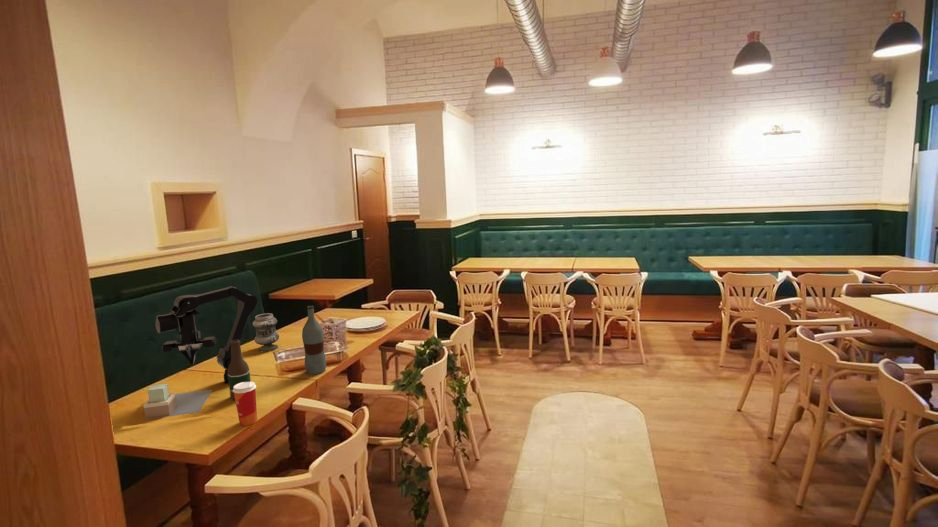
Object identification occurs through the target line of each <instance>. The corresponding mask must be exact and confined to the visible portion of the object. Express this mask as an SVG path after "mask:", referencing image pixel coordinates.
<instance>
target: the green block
mask: <svg viewBox="0 0 938 527" xmlns="http://www.w3.org/2000/svg"><path fill="white" fill-rule="evenodd" d="M168 385H169V384H168V383H160V384H158V383H157V384H152V385H151V386H150V387H149V388H148V389H147V395H148V399H149V402H150V403H156V402H164V401H167V400H168V398H169V394H170V393H169V392H170V391H169V386H168Z"/></svg>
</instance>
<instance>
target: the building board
mask: <svg viewBox="0 0 938 527" xmlns="http://www.w3.org/2000/svg"><path fill="white" fill-rule="evenodd" d="M213 390H214V389H205V390H198V391H197V390H196V391H188V392H181V393H175V392H173V393H169V398H168V400H167V401H164V402H156V403H150V402H149V398H148V399H147V400H146V401H145V403H144V404H143V411H144V420H145V421H146V420H152V419H159V418H160V419H161V418H167V417H175V416H181V415H189V414H195V413H196V414H197V413H200V411H201V410H202V408H203V406H204V405H205V403H206V401H207V400H208V398H209V397H210V395H211V393H212V392H213Z"/></svg>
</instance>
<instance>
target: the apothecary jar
mask: <svg viewBox="0 0 938 527" xmlns="http://www.w3.org/2000/svg"><path fill="white" fill-rule="evenodd" d="M277 324H278V320H277V318H276V317H275V316H274V314H273V313H269V312H267V313H261V314H257V315H256V316H255V317H254V321H252V326H253V327H254V328H255V333H256V336H255V337H254V338H253V339H254V342H255V343H256V344H257V345H260V347H258V348H257V351H258V352H259V353H260V352H263V353H264V352H270V351H271V352H272V351H275V350H277V349H278V348H279V346H278V345H277V344H275V343H276V342H277V341H279V339H280V335H279V333H278V332H277V329H276V325H277Z"/></svg>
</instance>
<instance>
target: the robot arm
mask: <svg viewBox="0 0 938 527" xmlns="http://www.w3.org/2000/svg"><path fill="white" fill-rule="evenodd" d="M228 298H232V299H234V300H235V301H237V305H236V306H237V314H236V318H235V321H234V323H233V324H232V325H233V326H232V328H231V330H230V335H229V337H228V339H227V343H226V345H225V346H224V347H223V348H222V347H220V348H219V350H218V353H217V355H216V363H217V364H218V365H219V366H220V367H222V368H223V369H225V370H224V373H223V381H224V384H229V380H228V367H229V364H230V363H231V345H230V342H231V341H232V340H240V341H241V339H242V337H243V334H244V331H245V329H246V325H247V323H248V319H249V317H250V316H251V314H252V313H253V312H254V311H255V310H256V307H257V306H258V303H259V300H258V298H257V297H256V296H255V295H253V294H249V293H245V292H244V291H242V290H239V289H238V288H237V287H235V286H231V285H230V286H227V287H223V288H220V289H219V288H218V289H216V290H215V289H214V290H211V291H208V292H204V293H200V294H186V295H178V296H177V297H176V298H175V300H174V302H173V306H172V308H171V309H170V311H169V313H166V314H159V315H156V319H155V324H154V325H155V329H156V332H157V333H158V334H163V333H166V332H167V333H168V332H171V331H176V329H178V330H179V332H178V334H179V337H180V342H178V341H177V340H167V341H165V342H164V343H163V344H162V345H161V353H167V352H171V351H173V349H176V348H178V353H181V354H182V355H183V356H184V357H185V359H186V360H187V362H188V363H189V364H190V365H191V366H192V365H193V366H194V364H195V360H196V357H197V356H196V355H197V352H198V351H199V350H200V349H201V348H202V346H203V347H204V348H210V347H211V348H213V347H214V346H215V345H216V344H217V338H216V336H206V337H204V338H203V339H202V340H201V331H200V330H198V329H197V326H196V321H195V319H196V318H195V316H197V315H200V312H198V311H197V310H196V309H197V308H199V307H200V306H203V305H204V304H208V303H212V302H216V301H219V300H223V299H228Z"/></svg>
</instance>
